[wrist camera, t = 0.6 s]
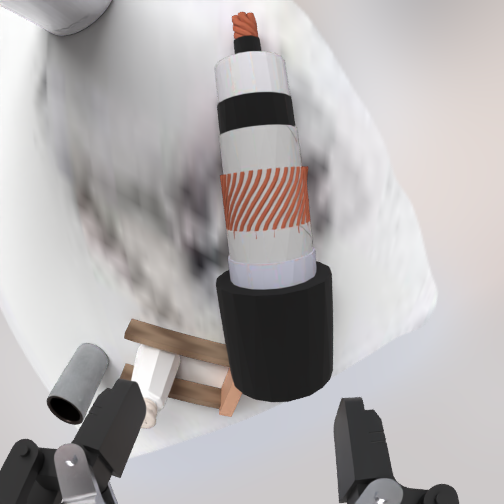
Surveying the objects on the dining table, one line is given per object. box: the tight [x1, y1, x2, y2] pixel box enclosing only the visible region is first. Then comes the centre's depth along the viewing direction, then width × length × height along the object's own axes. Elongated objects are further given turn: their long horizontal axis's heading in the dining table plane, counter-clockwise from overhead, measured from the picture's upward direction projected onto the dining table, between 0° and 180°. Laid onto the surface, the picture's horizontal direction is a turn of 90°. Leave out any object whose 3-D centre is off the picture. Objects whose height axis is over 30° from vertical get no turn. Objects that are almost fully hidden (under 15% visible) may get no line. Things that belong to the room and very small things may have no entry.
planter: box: [47, 343, 108, 425], centre depth 30 cm, size 4×4×10 cm
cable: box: [215, 12, 333, 402], centre depth 26 cm, size 10×34×10 cm, turn 4°
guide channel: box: [120, 319, 242, 417], centre depth 33 cm, size 14×8×4 cm, turn 72°
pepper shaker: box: [131, 344, 181, 429], centre depth 29 cm, size 5×5×11 cm
